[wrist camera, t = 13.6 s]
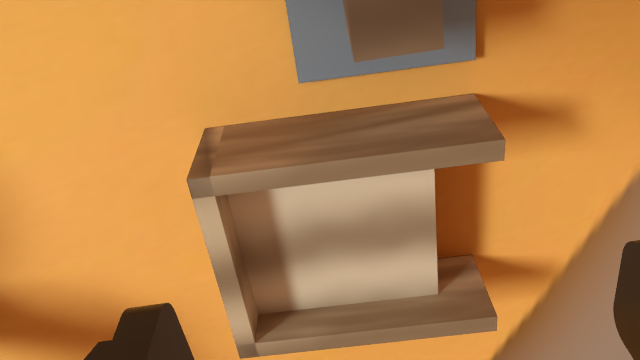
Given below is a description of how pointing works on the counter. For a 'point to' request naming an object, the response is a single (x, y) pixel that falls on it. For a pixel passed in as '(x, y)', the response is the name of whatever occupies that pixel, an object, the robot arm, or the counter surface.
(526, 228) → the counter surface
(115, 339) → the robot arm
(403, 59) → the mat
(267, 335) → the crate
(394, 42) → the block
